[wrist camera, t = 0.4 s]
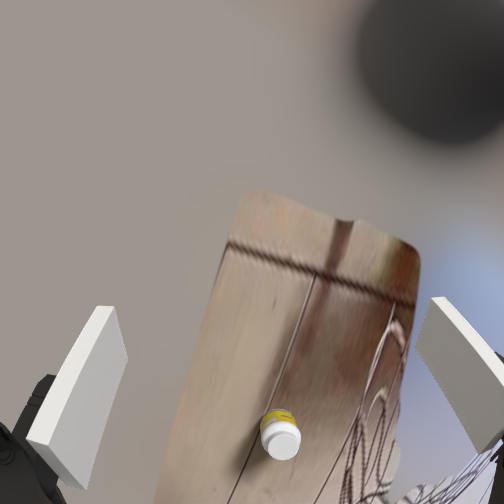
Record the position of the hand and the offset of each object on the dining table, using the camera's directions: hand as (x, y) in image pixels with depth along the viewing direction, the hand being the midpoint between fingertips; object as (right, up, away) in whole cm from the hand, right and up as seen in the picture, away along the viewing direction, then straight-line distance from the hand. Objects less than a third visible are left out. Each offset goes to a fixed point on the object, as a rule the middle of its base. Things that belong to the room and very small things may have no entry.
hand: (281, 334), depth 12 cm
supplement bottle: (+3, -23, +32) cm, 40 cm away
